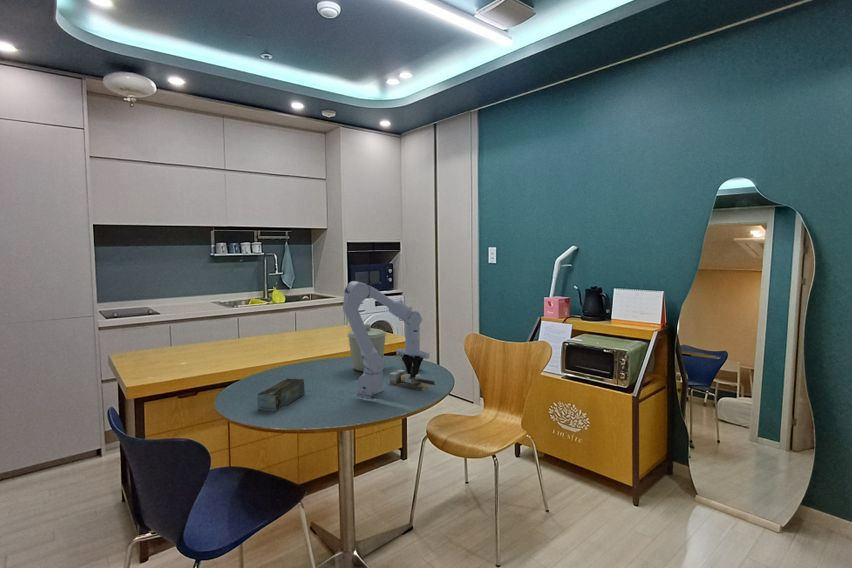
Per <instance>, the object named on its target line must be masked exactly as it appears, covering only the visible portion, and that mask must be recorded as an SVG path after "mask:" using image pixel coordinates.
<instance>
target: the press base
mask: <svg viewBox="0 0 852 568" xmlns="http://www.w3.org/2000/svg"><path fill="white" fill-rule="evenodd" d="M406 372H407V370H402V368H401V369H397V370H394V371H393V372H390V373H389V382H387V383H385V384H386V385H390V386H395V387H399V388H404V389H411V390H416V391H420V392H423V391H425V390H427V389H429V388H431V387H433V386H435V385H436V383H435V382H436V381H435V380H431V379H427V378H421V382H420V383H418V384H415V385H409V384H404V383H401V375H404V374H407V373H406Z"/></svg>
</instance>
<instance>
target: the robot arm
mask: <svg viewBox="0 0 852 568" xmlns="http://www.w3.org/2000/svg"><path fill="white" fill-rule="evenodd" d="M343 294H344V295H343V301H342V302H343V304H342V310H343V312H344V315H345V317H346V320H347V323H348V324H349V327H350V328H351V331H353V333H354V336H355V338H356V340H357V343H358V345H359V347H360V350H361V356H362V364H363V365H364V366H365V368H364V371H363V373H362V374H361V375H360V376H359V377H358V379H357V390H358V394H356V397H361V398H364V399H368V400H374V399H376V397H375V396H373V395H375V394H379V393H382V392H383V391H384V384H383V383H384V381H383V380H384V377H383V376H384V375H383V373H384V372H383V370H384V368H385V360H384V358H383V359H382V358H381V357H380V356H379V354H378V352H377V351H376V349H375V348H374V346H373V344H372V342H371V339H370V337H369V335H368V332H367V330H366V328H365V325H364V324H365V323H364V321H363V318H362V316H361V314H360V312H359V308H360V306H361V304H362V303H363V302H364V301H365V300H366V299H373V300H375V301H377V302H378V303H380V304H382V305H383V306H386V307H387V308H388V311H389V313H390V314H392V315H393V316H395V317H396V318H398V319H400V320H401V321H403V323H404V327H405V328H404V331H405V332H404V333H405V334H404V336H405V337H404V338H405V339H404V340H405V341H404V346H405V347H404V348H398V349H396V353H395V354H396V355H401V361H402V360H403V362H404V364H405V366H406V369H407V370H406V372H407V373H406V374H409V375H410V366H412V362H413V372H414V375H417V374H419V371H420V370H419V368H420V365H421V366H422V363H423V361H424V359H426V360H427V359H430V352H426V351H423V350H421V347H420V345H421V343H420V342H421V340H420V339H421V337H420V333H421V332H420V331H421V330H420V325H421V323H422V321H423V318H422V315H421V314H420V312H419V311H416V310H413V307H412V306H408V305H406V304H405V303H404V301H403V300H401V299H395V300H393V299H391V298H390V297H389V296H387V295H385V294H383V293H382V292H381V291H379V290H378V289H377V288H375V287H373V286H372V285H368V284H367V283H365V282H360V281H358V280H357V281H356V280H352V281H350V282H348V283H347V285H346V287H345V288H344V290H343ZM402 355H404V356H403V357H402ZM413 356H414V358H413Z"/></svg>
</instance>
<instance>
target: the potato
mask: <svg viewBox="0 0 852 568" xmlns="http://www.w3.org/2000/svg"><path fill="white" fill-rule="evenodd" d="M408 376H410V374H408V373H406V374H404V375H401V383H404V384H405V378H406V377H408Z"/></svg>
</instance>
